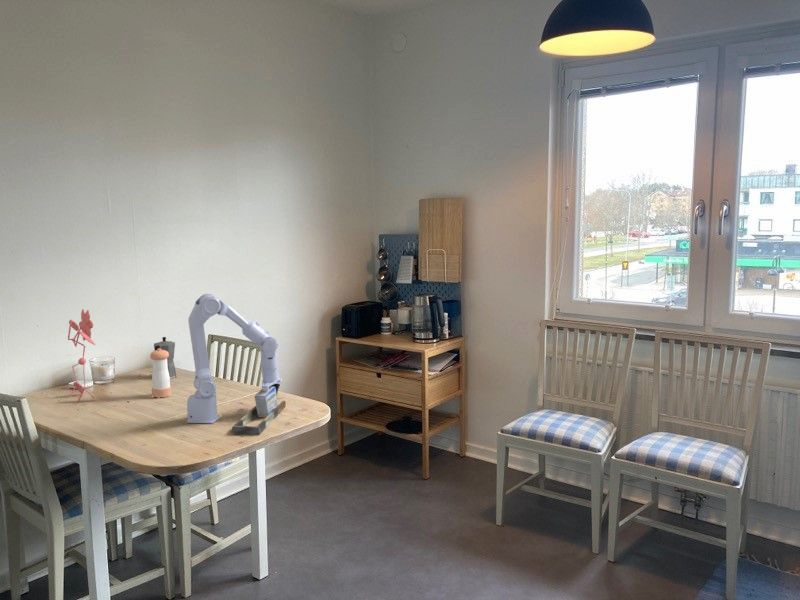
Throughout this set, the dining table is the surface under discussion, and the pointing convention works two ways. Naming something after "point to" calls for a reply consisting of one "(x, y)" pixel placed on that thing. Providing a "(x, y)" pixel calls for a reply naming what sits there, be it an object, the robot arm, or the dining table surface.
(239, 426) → the trap channel
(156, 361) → the salt shaker
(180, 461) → the dining table surface
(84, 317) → the figurine
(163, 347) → the coffeepot
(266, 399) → the medicine box
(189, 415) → the robot arm
